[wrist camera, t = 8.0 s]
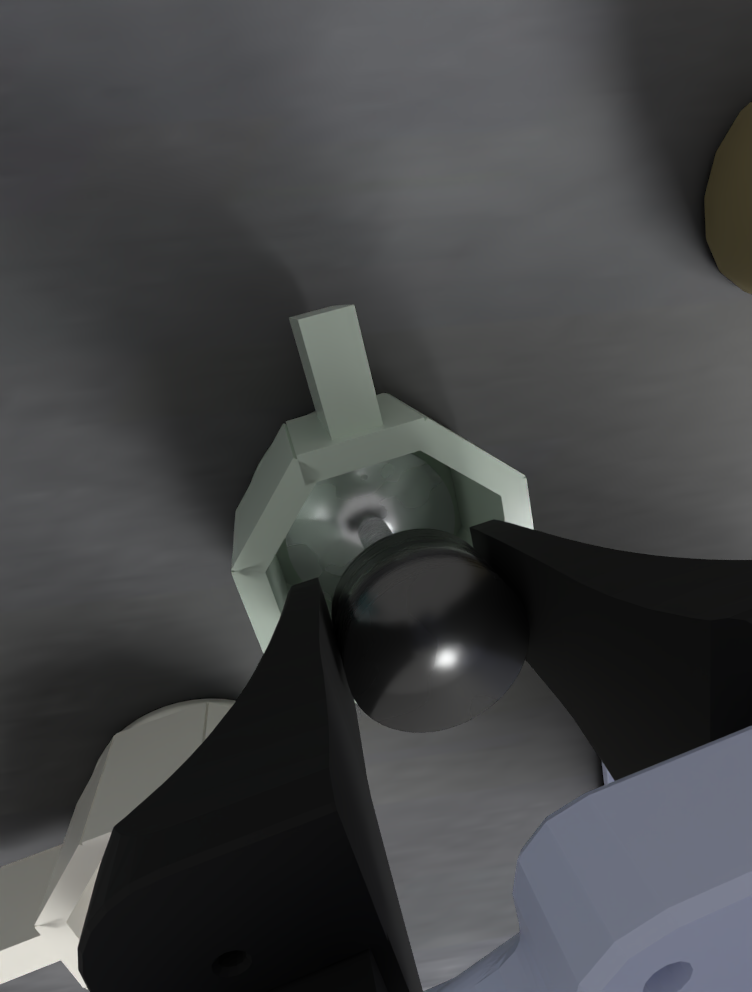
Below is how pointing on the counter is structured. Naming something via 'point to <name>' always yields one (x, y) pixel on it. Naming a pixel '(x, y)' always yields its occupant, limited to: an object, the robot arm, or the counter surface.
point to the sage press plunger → (408, 597)
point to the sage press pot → (350, 462)
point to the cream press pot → (92, 837)
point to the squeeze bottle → (732, 203)
